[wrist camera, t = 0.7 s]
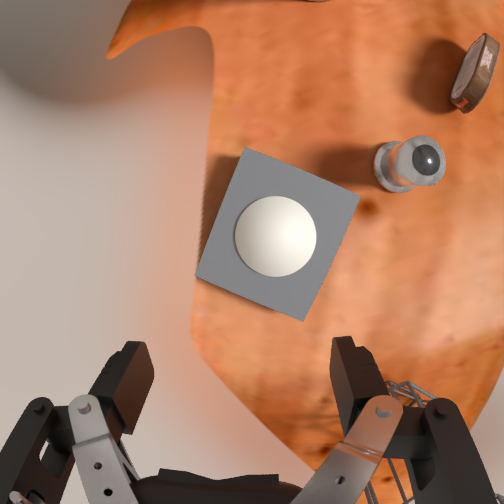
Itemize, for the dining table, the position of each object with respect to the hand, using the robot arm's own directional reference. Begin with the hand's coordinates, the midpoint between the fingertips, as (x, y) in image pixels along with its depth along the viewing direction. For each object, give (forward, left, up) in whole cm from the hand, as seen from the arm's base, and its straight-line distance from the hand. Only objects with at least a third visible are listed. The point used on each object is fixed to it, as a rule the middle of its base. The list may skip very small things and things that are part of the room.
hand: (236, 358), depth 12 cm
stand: (-2, 0, -27) cm, 27 cm away
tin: (-35, +17, -27) cm, 48 cm away
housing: (-16, +11, -27) cm, 33 cm away
